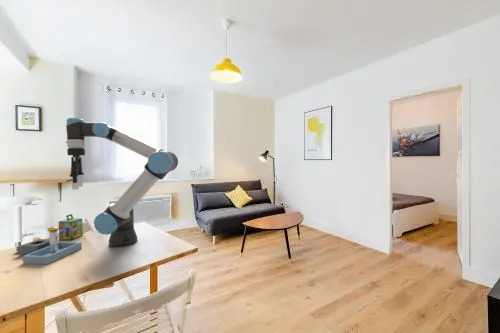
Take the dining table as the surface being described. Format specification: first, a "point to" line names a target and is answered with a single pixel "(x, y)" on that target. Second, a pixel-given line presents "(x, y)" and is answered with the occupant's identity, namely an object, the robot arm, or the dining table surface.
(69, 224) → the green lunch box
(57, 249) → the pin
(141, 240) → the dining table surface
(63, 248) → the tray
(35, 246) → the hitch block
